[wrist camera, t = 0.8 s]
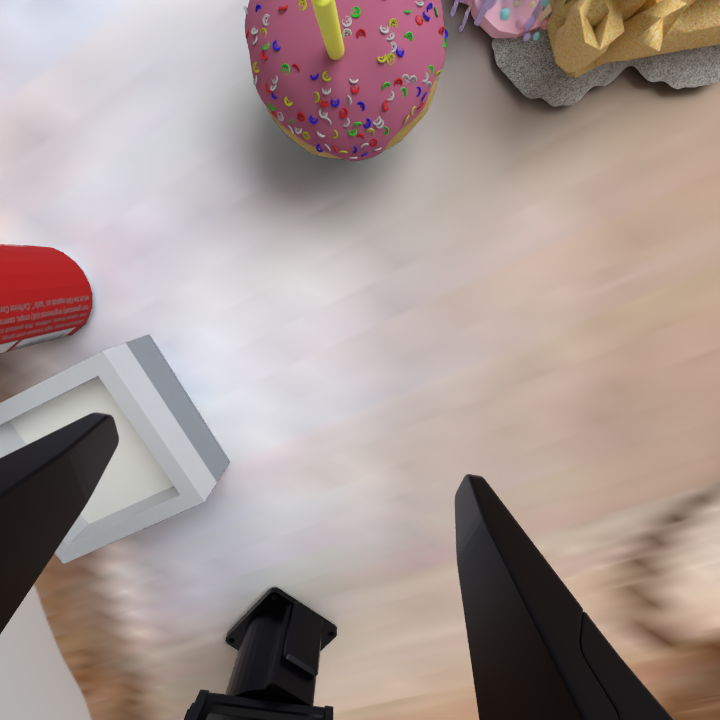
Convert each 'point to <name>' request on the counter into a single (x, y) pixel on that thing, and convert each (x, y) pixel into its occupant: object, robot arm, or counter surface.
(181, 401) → the socket block
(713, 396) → the counter surface
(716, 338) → the counter surface
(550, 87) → the colorful dessert platter
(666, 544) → the counter surface
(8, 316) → the soda can
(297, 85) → the cupcake
